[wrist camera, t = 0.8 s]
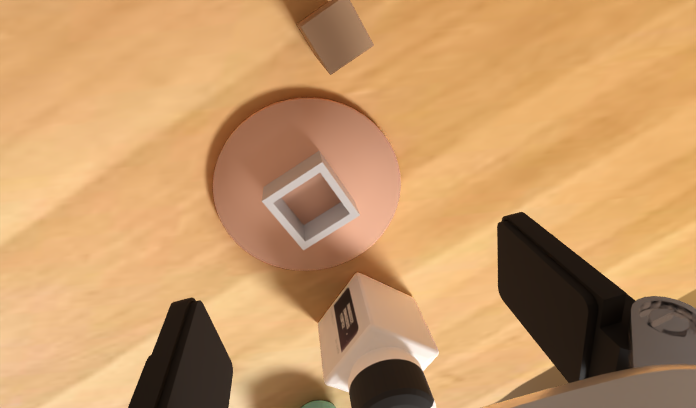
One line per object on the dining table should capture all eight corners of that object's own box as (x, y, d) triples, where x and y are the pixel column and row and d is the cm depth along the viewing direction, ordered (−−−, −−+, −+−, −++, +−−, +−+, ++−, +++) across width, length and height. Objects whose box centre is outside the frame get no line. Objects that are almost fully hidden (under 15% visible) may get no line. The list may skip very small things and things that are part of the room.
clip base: (337, 55, 29) (344, 60, 26) (427, 208, 36) (441, 226, 33) (171, 169, 31) (158, 186, 27) (288, 292, 38) (288, 318, 35)
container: (316, 323, 40) (328, 446, 28) (356, 269, 38) (387, 379, 26) (374, 345, 43) (407, 466, 31) (415, 297, 41) (467, 407, 29)
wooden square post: (328, 1, 27) (346, -6, 19) (348, 37, 28) (374, 45, 20) (296, 24, 27) (300, 26, 19) (317, 59, 29) (330, 74, 21)
